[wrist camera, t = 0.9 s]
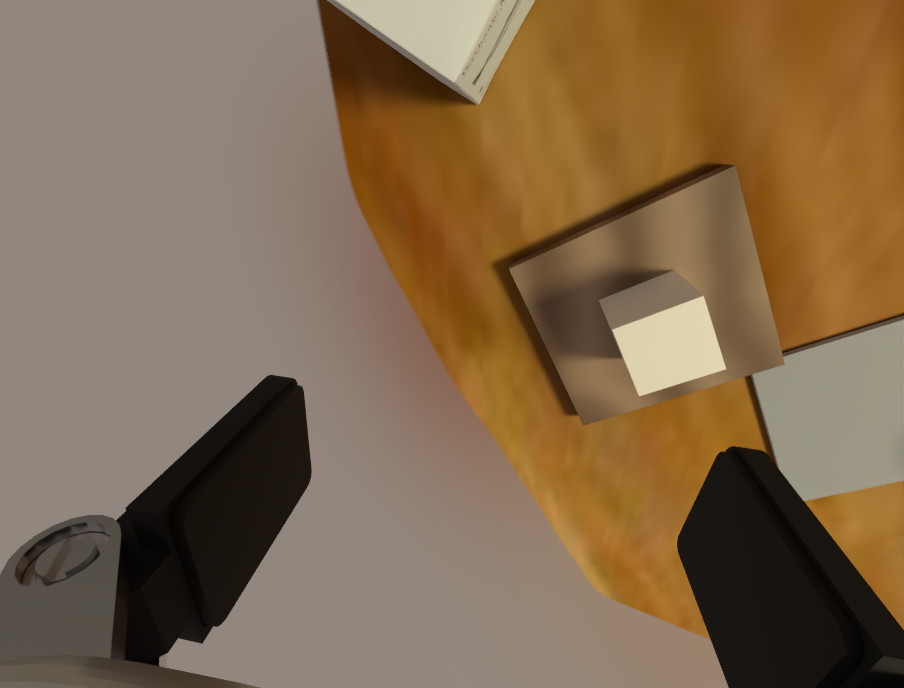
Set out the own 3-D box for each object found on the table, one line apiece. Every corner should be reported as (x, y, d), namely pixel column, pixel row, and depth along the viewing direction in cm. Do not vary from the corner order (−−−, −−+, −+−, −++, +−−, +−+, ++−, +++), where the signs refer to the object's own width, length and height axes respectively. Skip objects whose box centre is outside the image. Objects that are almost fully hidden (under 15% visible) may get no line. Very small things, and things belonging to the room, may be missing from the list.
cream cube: (674, 269, 30) (703, 295, 25) (695, 333, 32) (726, 369, 27) (598, 300, 32) (612, 329, 27) (622, 358, 34) (639, 396, 29)
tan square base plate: (725, 164, 28) (762, 169, 24) (774, 355, 34) (812, 388, 29) (509, 263, 34) (507, 283, 29) (581, 415, 39) (588, 451, 34)
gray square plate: (1001, 284, 29) (1009, 287, 29) (1007, 453, 34) (1013, 458, 34) (747, 364, 34) (750, 366, 34) (786, 499, 40) (789, 504, 39)
